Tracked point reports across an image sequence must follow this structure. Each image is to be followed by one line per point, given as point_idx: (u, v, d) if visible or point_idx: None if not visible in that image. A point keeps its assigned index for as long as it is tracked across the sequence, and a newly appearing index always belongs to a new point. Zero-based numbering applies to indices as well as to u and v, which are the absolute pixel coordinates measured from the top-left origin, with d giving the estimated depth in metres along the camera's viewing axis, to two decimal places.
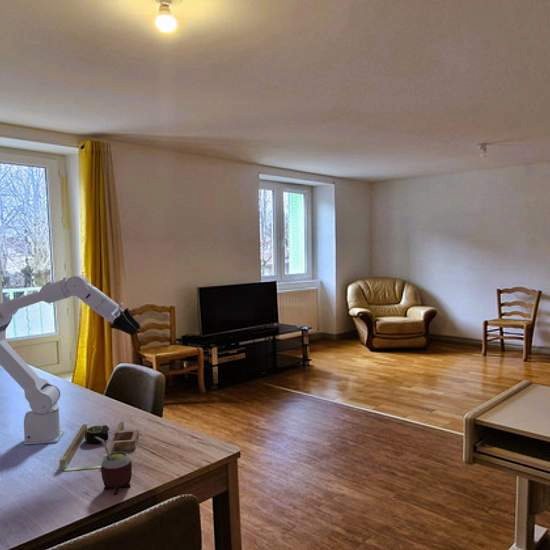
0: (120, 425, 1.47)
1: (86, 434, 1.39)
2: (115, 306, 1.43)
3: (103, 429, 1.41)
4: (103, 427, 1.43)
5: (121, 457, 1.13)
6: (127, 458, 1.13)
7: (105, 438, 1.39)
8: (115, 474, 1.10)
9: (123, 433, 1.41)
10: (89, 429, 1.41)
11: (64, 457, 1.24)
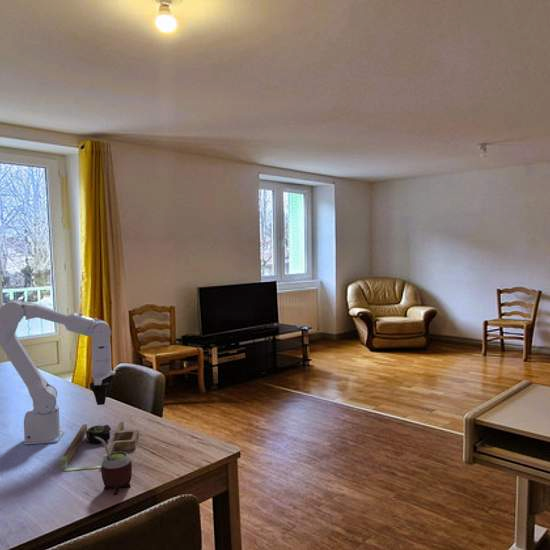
0: (120, 425, 1.47)
1: (88, 434, 1.39)
2: (108, 371, 1.47)
3: (105, 429, 1.41)
4: (105, 427, 1.43)
5: (121, 457, 1.13)
6: (127, 458, 1.13)
7: (107, 438, 1.39)
8: (115, 474, 1.10)
9: (123, 433, 1.41)
10: (91, 429, 1.41)
11: (64, 457, 1.24)
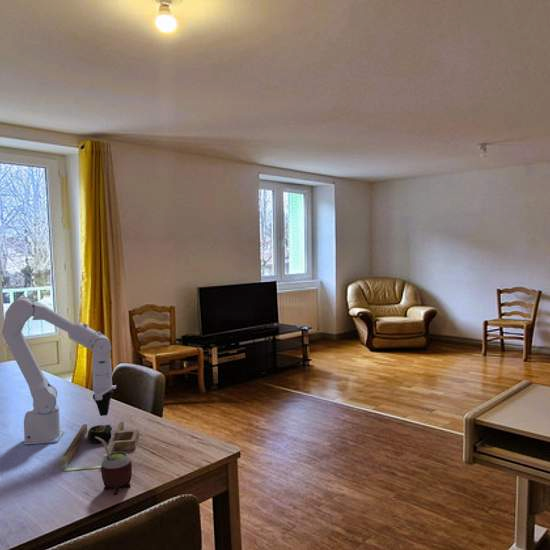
0: (120, 425, 1.47)
1: (89, 433, 1.39)
2: (109, 386, 1.48)
3: (106, 428, 1.42)
4: (106, 426, 1.43)
5: (121, 457, 1.13)
6: (127, 458, 1.13)
7: (108, 437, 1.40)
8: (115, 474, 1.10)
9: (123, 433, 1.41)
10: (92, 428, 1.42)
11: (64, 457, 1.24)
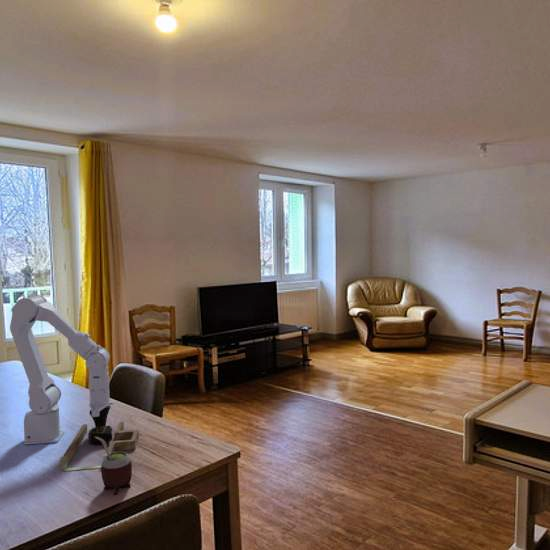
0: (120, 425, 1.47)
1: (90, 435, 1.38)
2: (106, 401, 1.43)
3: (107, 430, 1.40)
4: (106, 428, 1.42)
5: (121, 457, 1.13)
6: (127, 458, 1.13)
7: (109, 439, 1.38)
8: (115, 474, 1.10)
9: (123, 433, 1.41)
10: (92, 430, 1.40)
11: (64, 457, 1.24)
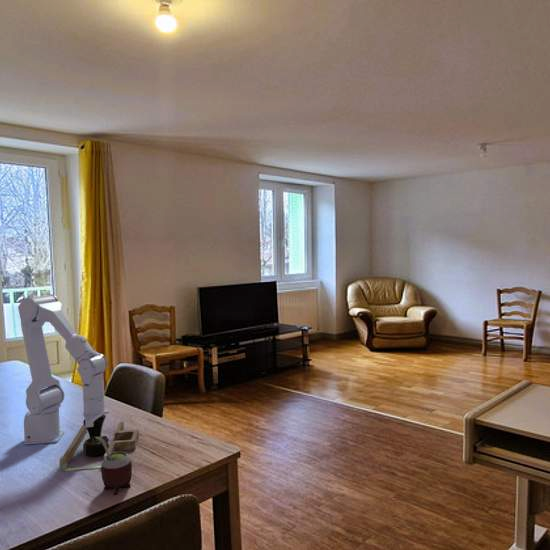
0: (120, 425, 1.47)
1: (85, 446, 1.30)
2: (101, 410, 1.35)
3: None
4: (103, 438, 1.34)
5: (121, 457, 1.13)
6: (127, 458, 1.13)
7: (105, 450, 1.31)
8: (115, 474, 1.10)
9: (123, 433, 1.41)
10: (88, 441, 1.32)
11: (64, 457, 1.24)
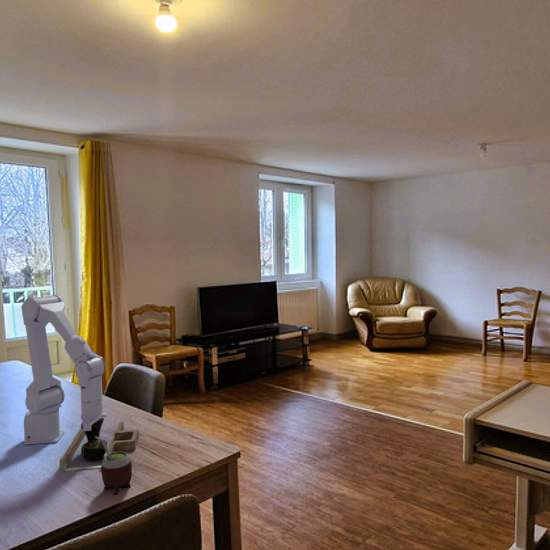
0: (120, 425, 1.47)
1: (83, 450, 1.28)
2: (99, 414, 1.33)
3: (101, 444, 1.30)
4: (101, 442, 1.32)
5: (121, 457, 1.13)
6: (127, 458, 1.13)
7: (104, 454, 1.28)
8: (115, 474, 1.10)
9: (123, 433, 1.41)
10: (86, 444, 1.30)
11: (64, 457, 1.24)
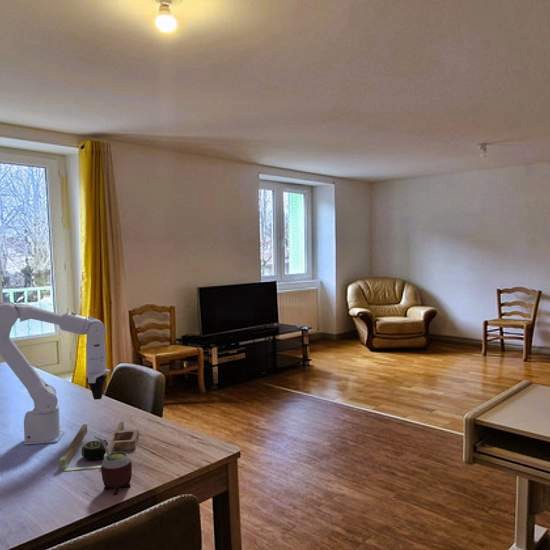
0: (120, 425, 1.47)
1: (83, 450, 1.28)
2: (103, 369, 1.48)
3: (102, 444, 1.30)
4: None
5: (121, 457, 1.13)
6: (127, 458, 1.13)
7: (104, 454, 1.28)
8: (115, 474, 1.10)
9: (123, 433, 1.41)
10: (86, 444, 1.30)
11: (64, 457, 1.24)
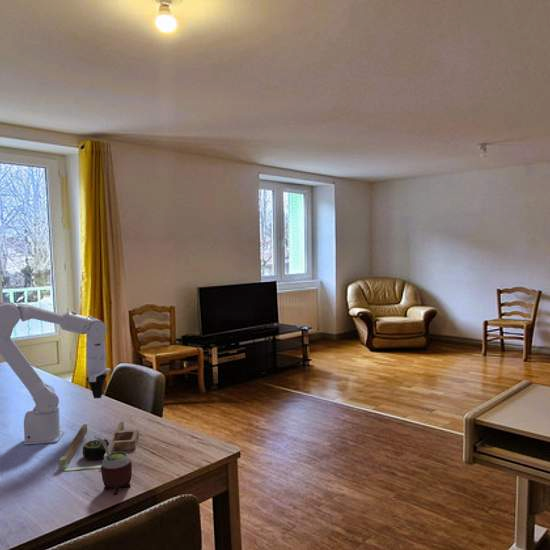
0: (120, 425, 1.47)
1: (84, 449, 1.29)
2: (103, 368, 1.49)
3: (102, 444, 1.31)
4: None
5: (121, 457, 1.13)
6: (127, 458, 1.13)
7: (104, 454, 1.29)
8: (115, 474, 1.10)
9: (123, 433, 1.41)
10: (87, 444, 1.31)
11: (64, 457, 1.24)
